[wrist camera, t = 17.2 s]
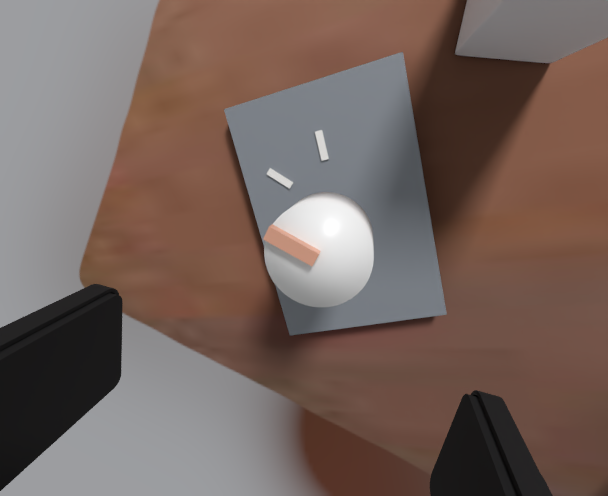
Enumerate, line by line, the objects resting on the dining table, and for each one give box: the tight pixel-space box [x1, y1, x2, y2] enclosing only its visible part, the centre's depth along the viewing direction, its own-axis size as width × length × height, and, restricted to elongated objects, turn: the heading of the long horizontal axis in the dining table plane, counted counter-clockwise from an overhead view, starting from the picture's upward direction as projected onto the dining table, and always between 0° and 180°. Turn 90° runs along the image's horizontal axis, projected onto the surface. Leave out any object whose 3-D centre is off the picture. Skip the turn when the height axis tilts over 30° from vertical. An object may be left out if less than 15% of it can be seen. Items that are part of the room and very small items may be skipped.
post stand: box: [224, 52, 447, 335], centre depth 27 cm, size 22×15×10 cm
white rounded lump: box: [263, 192, 374, 307], centre depth 20 cm, size 6×6×5 cm
